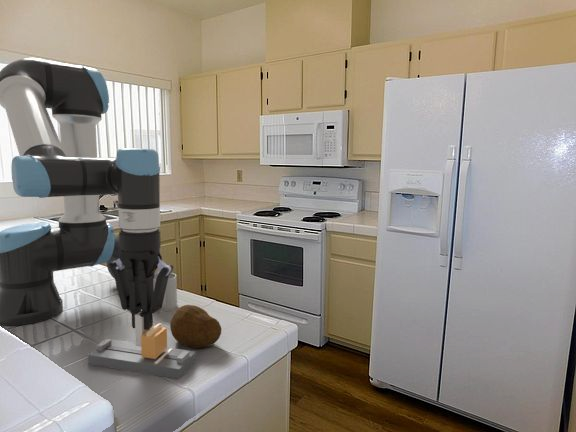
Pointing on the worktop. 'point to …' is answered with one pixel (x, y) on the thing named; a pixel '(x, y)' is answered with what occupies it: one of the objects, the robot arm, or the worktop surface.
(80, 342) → the worktop surface
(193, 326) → the potato
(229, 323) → the worktop surface
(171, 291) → the cup
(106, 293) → the worktop surface
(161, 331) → the slider
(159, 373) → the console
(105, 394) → the worktop surface
